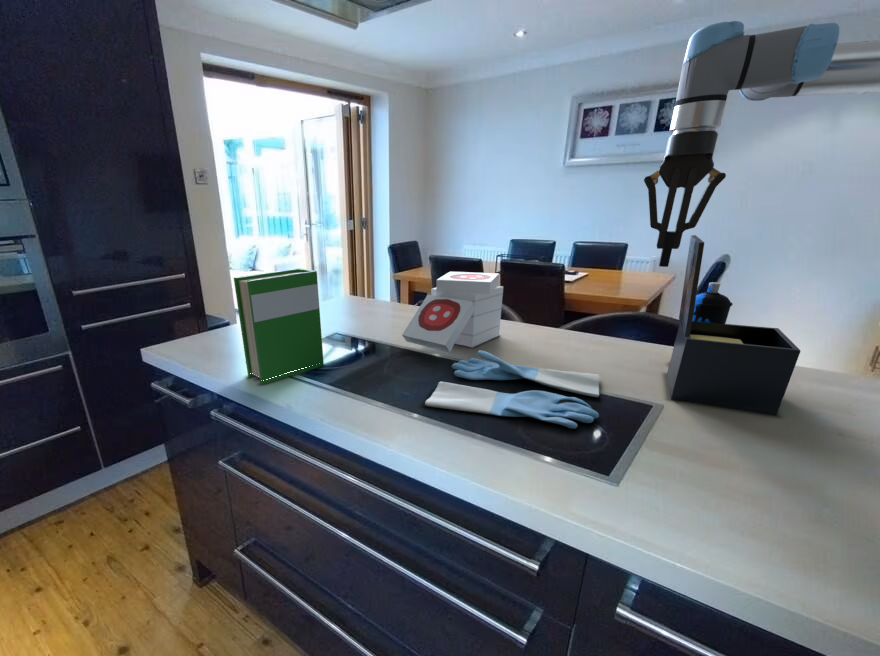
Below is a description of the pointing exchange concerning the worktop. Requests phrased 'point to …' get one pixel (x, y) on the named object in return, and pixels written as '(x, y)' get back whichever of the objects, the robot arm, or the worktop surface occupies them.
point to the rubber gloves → (521, 403)
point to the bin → (732, 367)
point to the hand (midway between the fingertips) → (663, 265)
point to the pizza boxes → (458, 312)
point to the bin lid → (691, 283)
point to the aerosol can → (711, 306)
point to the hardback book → (280, 322)
